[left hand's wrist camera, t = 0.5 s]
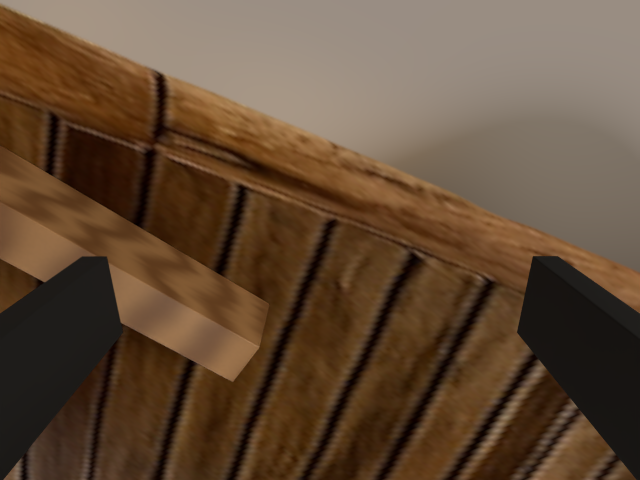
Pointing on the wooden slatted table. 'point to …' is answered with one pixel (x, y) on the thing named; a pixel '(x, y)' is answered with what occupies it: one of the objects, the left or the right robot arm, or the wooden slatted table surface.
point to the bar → (128, 269)
